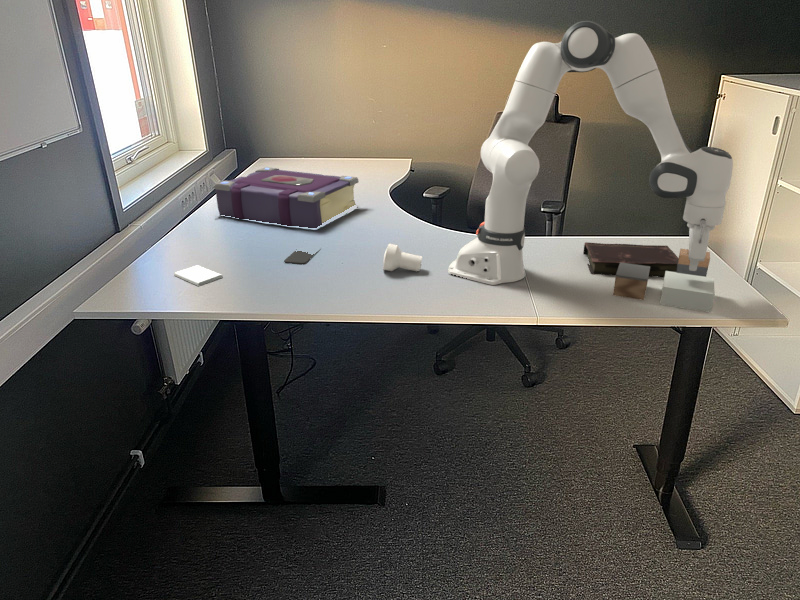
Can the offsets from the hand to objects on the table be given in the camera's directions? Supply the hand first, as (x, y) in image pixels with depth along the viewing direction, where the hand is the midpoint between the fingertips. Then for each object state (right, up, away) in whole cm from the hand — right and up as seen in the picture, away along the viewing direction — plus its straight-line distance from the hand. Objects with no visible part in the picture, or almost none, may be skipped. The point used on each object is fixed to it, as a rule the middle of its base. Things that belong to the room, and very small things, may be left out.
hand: (692, 265), depth 158 cm
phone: (-107, +5, +36) cm, 113 cm away
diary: (-7, +1, +26) cm, 27 cm away
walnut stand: (-13, -6, +9) cm, 17 cm away
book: (-120, +25, +79) cm, 146 cm away
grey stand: (0, -9, +4) cm, 10 cm away
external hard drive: (-135, -3, +21) cm, 137 cm away
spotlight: (-76, 0, +24) cm, 80 cm away
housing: (0, -1, +1) cm, 2 cm away
